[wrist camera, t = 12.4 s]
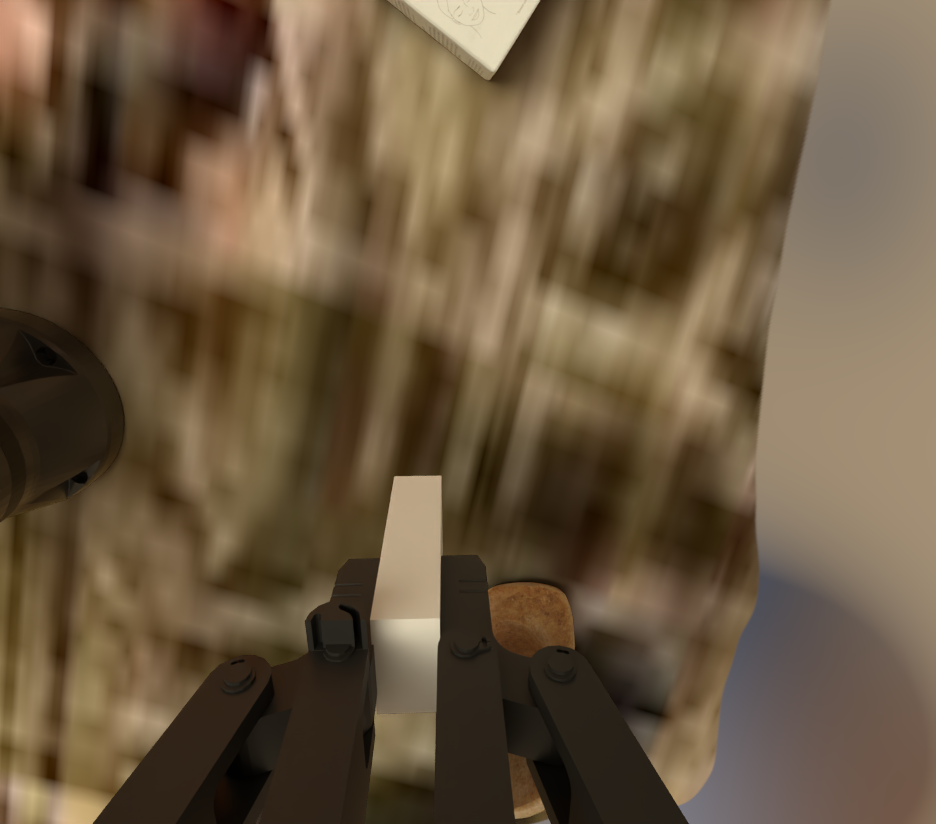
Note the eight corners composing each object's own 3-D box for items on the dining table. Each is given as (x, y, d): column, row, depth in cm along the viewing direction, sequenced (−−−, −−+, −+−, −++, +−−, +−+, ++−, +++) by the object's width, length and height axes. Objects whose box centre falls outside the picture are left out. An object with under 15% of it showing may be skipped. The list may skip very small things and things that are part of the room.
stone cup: (439, 578, 52) (436, 723, 38) (573, 570, 52) (619, 712, 38) (450, 705, 57) (450, 873, 43) (570, 697, 57) (609, 862, 44)
